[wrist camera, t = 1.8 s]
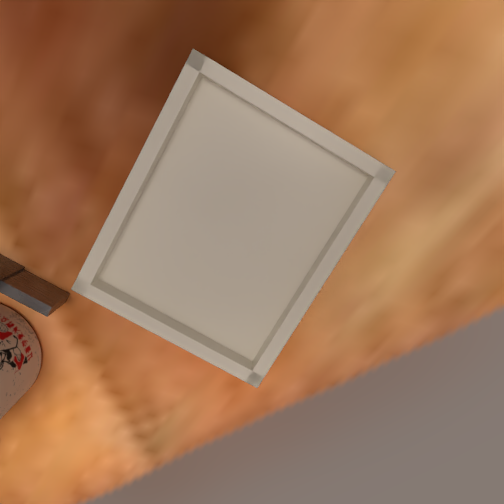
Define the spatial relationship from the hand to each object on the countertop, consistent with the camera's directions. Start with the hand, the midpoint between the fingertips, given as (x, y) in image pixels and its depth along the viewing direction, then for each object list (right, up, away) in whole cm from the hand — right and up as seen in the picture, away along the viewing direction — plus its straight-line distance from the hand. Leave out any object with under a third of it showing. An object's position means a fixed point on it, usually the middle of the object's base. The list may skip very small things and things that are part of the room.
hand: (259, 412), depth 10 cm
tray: (-2, +5, +23) cm, 23 cm away
